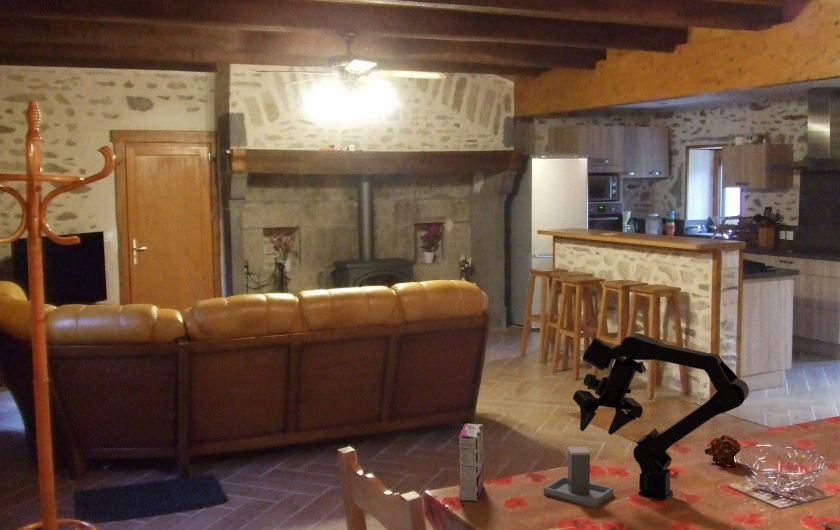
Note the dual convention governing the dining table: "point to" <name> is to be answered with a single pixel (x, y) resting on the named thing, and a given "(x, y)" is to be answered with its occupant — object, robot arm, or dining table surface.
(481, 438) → the candy bar box
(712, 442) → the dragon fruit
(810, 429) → the dining table surface
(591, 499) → the tray
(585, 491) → the grey tall block
